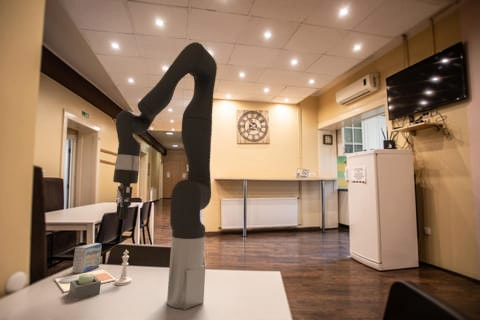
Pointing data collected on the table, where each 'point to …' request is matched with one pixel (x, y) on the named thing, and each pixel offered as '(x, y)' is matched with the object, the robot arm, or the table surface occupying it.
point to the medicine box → (86, 257)
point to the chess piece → (124, 272)
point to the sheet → (99, 274)
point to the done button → (85, 279)
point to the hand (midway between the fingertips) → (121, 217)
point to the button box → (84, 289)
